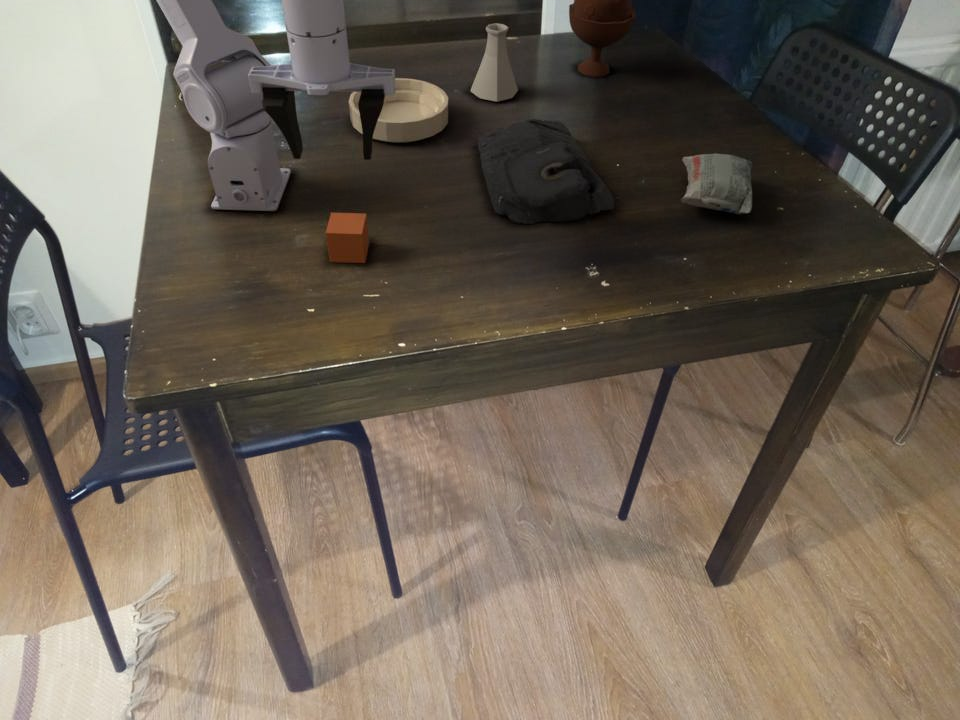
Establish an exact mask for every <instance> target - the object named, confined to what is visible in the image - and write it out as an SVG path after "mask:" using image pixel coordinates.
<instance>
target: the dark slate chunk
mask: <svg viewBox="0 0 960 720" xmlns="http://www.w3.org/2000/svg"><path fill="white" fill-rule="evenodd" d="M477 144H478V145H477V149H478V152H479V155H480V156H479V158H480V162H481V169H482V172H483V173H482V174H483V178H484V180H485V183H486V188H487V192H488V195H489V197H490V203H491V204H492V207H493V210H494V212H495V214H498V215H499V216H502V217H507V218H508V219H510V221H511V223H513V224H517V225H518V224H523V225H528V224H532V225H534V224H535V223H538V222H550V223H554V222H555V223H556V222H558V223H562V222H569V221H577V220H581V219H584V218H585V217H587V216H594V215H595V214H597V213H599V214H600V211H607V210H614V206H615V198H613V194H612V192H611V190H610V189H609V188H608V187H607V185H606V183H605V182H604V181H603V180H602V179H601V178H600V176H599V175H598V174H597V173H596V171H594V169H593V168H592V167H591V162H590V160H589V159H588V157H587V155H586V153H585V152H584V151H583V150H582V149H581V148H580V145H579V143H577V142H576V141H575V139H574V137H573V136H572V133H571V131H570V130H569V129H568V127H567V126H566V124H565V123H563V122H561V121H559V120H548V119H545V120H542V119H538V118H537V119H536V118H531V119H526V120H523V121H520V122H516V123H513V124H510V125H508V126H506V127H504V128H499V129H495V130H490V131H488V132H487V133H484V134H482V135H480V136H479V137H478V138H477ZM589 191H590V192H589Z"/></svg>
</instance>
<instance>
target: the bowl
mask: <svg viewBox="0 0 960 720" xmlns="http://www.w3.org/2000/svg"><path fill="white" fill-rule="evenodd" d="M395 84H396V88H395V95H385V99H384V105H383V108H382V111H381V113H380V116H379V118H378V121H377V123H376V127H375V130H374V134H373V140H378V141H381V142H388V143H389V142H390V143H411V142H416V141H420V140H424V139H427V138H430V137H434V136H436V135H437V134H439V133H440V132H442V131H443V130H444V129H445V128H446V126H447V125H448V124H449V96H448V95H447V93H446V91H445V90H443V89H442V88H441V87H439V86H437V85H436V84H433V83H431V82H428V81H425V80H420V79H414V78H405V77H404V78H402V77H395ZM360 96H361V92H351V93H350V96H349V99H348V109H349V118H350V122H351V124H352V127H353V128H354V129H355V130H356V131H357V132H358V133H360V134H361V135H363V132H362V125H361V119H360V113H359V108H358V103H359V99H360Z"/></svg>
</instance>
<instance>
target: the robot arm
mask: <svg viewBox="0 0 960 720" xmlns="http://www.w3.org/2000/svg"><path fill="white" fill-rule="evenodd" d="M155 1H156V2H157V4H158V6H159V8H160V9H161V11H162V12H163V15H164V16H165V19H166V20H167V22H168V24H169V25H170V27H171V28H172V30H173V32H174V34H175V36H176V37H177V39H178V41H179V42H180V44H181V46H182V47H181V50H180V53H179V56H178V59H177V61H176V64H175V67H174V70H173V74H172V75H173V77H174V79H175V81H176V83H177V85H178V88H179V89H180V92H181V95H182V98H183V102H184V105H185V107H186V109H187V112H188V113H189V115H190V116H191V118H192V119H193V120H194V122H195V123H196V124H197V125H198V126H199V127H200V128H202V129H204V130H205V131H206V132H208V133H209V134H210V138H211V139H210V140H211V148H210V151H209V155H208V158H207V168H208V171H209V175H210V179H211V183H212V185H213V186H212V187H213V190H214V193H215V196H214V199H213V200H212V202H211V205H210V207H211V209H212V210H222V211H223V210H224V211H227V210H228V211H257V212H258V211H260V212H275V211H277V210H278V209H279V206H280V203H281V200H282V197H283V195H284V192H285V190H286V187H287V184H288V182H289V179H290V176H291V173H292V170H291V169H290V168H286V167H281V166H280V161H279V156H278V151H277V146H276V141H275V135H274V130H273V124H272V121H273V122H274V124H276V126H277V128H278V129H279V131H280V133H281V134H282V136H283V137H284V139H285V142H286V144H287V145H288V147H289V150H290V152H291V155H292V157H293V159H294V160H301V157H302V155H303V151H304V147H303V137H302V135H301V134H302V133H301V130H300V124H299V119H298V115H297V114H298V113H297V105H296V95H295V92H307V95H309V96H327V95H329V94H330V92H341V93H343V92H344V93H353V92H361V96H360V99H359V103H358V108H359V113H360V119H361V125H362V132H363V134H362V155H363V160H365V161H366V160H368V161H370V160H371V159H372V154H373V141H374V139H373V134H374V130H375V127H376V123H377V121H378V118H379V116H380V113H381V111H382V108H383V105H384V99H385V95H395V88H396V84H395V78H396V70H395V69H394V68H382V67H375V66H369V65H364V64H359V63H352V62H351V60H350V51H349V43H348V42H349V41H348V33H347V22H346V13H345V4H344V0H281V1H280V2H281V6H282V11H283V12H282V13H283V18H284V24H285V31H286V37H287V43H288V44H287V45H288V49H289V55H290V61H291V63H283V64H275V65H271V63H270V62H269V61H268V60H267V59H266V58H265V57H264V56H263V55H262V54H261V52H260V51H259V50H258V48H257V46H256V44H255V42H254V41H253V39H252V38H251V37H249V36H247V35H245V34H243V33H240V32H237V31H235V30H232V29H230V28H228V27H227V26H226V24H225V22H224V20H223V18H222V17H221V15H220V13H219V11H218V9H217V8H216V5H215V4H214V2H213V0H155ZM221 62H227V63H224V64H222V65H220V66H217V67H214V68H212V69H210V70H207V71H205V70H206V69H207V68H209V67H211V66H215V65H216V64H219V63H221ZM271 119H272V120H271Z"/></svg>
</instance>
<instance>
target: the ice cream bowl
mask: <svg viewBox="0 0 960 720" xmlns="http://www.w3.org/2000/svg"><path fill="white" fill-rule="evenodd" d="M568 17H569V18H568V19H569V25H570V28H571V31H572V32H573V33H574V35H575V36H576V37H577V39H579V40H580V41H581V42H583V43H584V44H586V45H588V46H590V49H591V50H590V51H591V52H590V57H589V58H588V59H586V60H584V61H582V62H580V63H579V64H578V65H577V72H579V73H580V74H582V75H584V76H588V77H593V78H596V77H597V78H598V77H605V76H607V75H608V74H609V75H610V65H609V64H608V63H606V62H604V61H603V60H602V59H601V57H602V51H603V49H604V48H607V47H610V46H611V45H614V44H615V43H617V42H620V41H621V40H622V39H624V37H626V36H627V35H629V33H630V32H631V30H632V29H633V27H634V24H635V22H636V20H637V19H636V18H637V14H636V9H635V8H633V4H632V1H631V0H573V3H571V4H569V5H568Z"/></svg>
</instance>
